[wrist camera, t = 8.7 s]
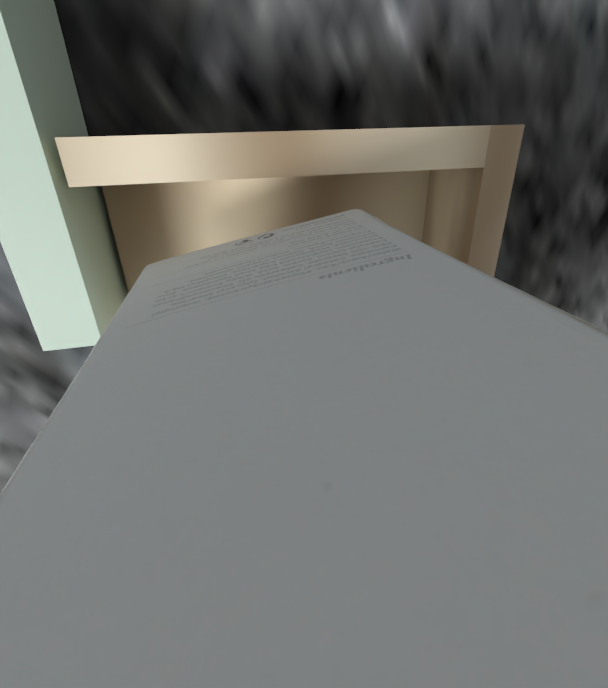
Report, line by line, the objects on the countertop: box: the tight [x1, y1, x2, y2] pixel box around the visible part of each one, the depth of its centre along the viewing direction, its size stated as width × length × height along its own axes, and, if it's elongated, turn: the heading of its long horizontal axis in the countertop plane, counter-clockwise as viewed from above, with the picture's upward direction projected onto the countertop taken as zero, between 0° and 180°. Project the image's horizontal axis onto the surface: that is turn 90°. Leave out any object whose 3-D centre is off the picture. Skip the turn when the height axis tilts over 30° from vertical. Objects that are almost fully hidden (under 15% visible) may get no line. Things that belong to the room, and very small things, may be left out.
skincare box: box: [0, 209, 608, 688], centre depth 8 cm, size 10×6×10 cm, turn 13°
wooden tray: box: [55, 124, 525, 292], centre depth 15 cm, size 12×16×4 cm
